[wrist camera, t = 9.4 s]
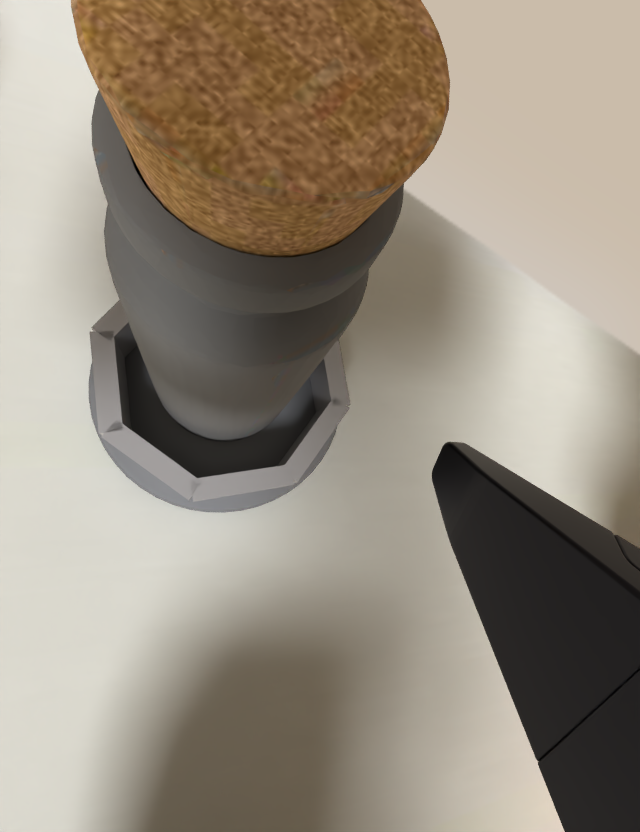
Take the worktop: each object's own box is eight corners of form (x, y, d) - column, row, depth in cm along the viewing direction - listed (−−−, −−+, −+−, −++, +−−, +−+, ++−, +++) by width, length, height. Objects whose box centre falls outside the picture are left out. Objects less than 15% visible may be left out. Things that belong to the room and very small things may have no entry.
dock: (352, 490, 21) (381, 487, 18) (105, 533, 18) (85, 540, 15) (316, 280, 23) (336, 242, 20) (84, 286, 20) (61, 242, 16)
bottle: (244, 296, 21) (335, -181, 6) (312, 399, 20) (564, 145, 6) (128, 354, 19) (-110, -140, 4) (202, 468, 18) (200, 332, 4)
